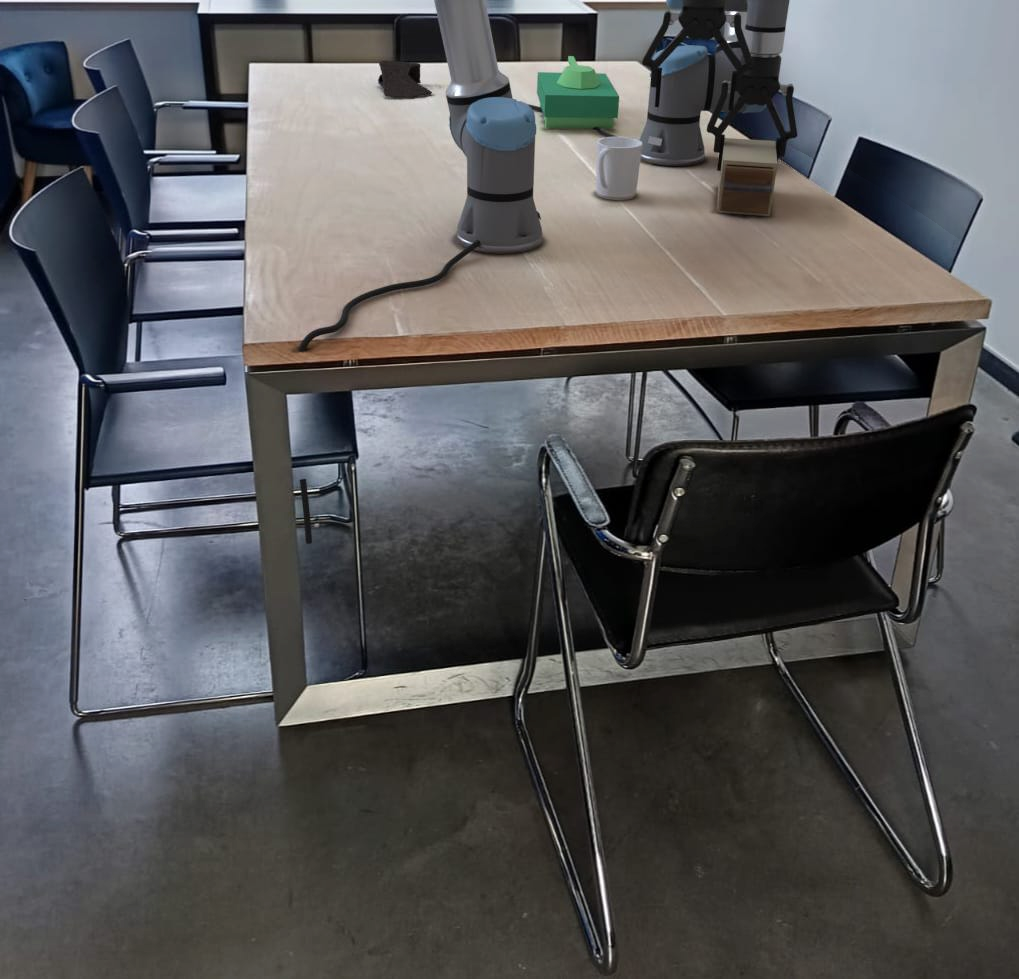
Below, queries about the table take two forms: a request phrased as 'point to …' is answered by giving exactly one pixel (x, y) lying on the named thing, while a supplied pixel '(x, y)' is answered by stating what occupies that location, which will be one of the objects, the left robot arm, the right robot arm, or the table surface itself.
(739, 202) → the drawer
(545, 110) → the toy tank
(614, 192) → the mug
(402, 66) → the axe head
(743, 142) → the cabinet
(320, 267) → the table surface
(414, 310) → the table surface
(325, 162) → the table surface
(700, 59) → the right robot arm
